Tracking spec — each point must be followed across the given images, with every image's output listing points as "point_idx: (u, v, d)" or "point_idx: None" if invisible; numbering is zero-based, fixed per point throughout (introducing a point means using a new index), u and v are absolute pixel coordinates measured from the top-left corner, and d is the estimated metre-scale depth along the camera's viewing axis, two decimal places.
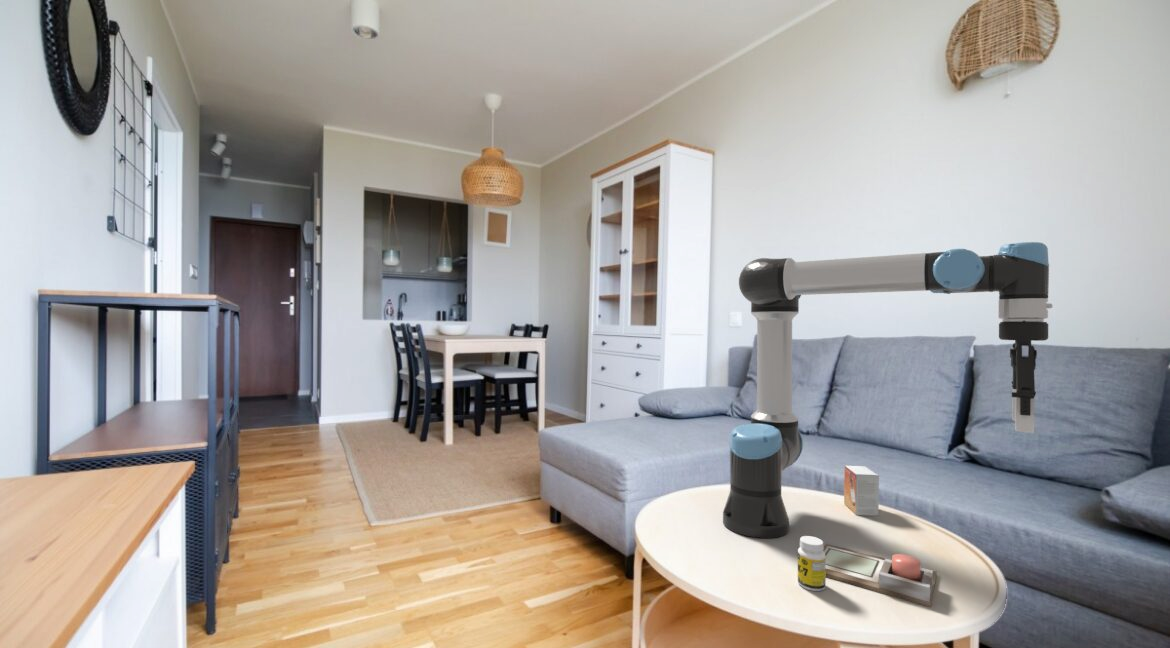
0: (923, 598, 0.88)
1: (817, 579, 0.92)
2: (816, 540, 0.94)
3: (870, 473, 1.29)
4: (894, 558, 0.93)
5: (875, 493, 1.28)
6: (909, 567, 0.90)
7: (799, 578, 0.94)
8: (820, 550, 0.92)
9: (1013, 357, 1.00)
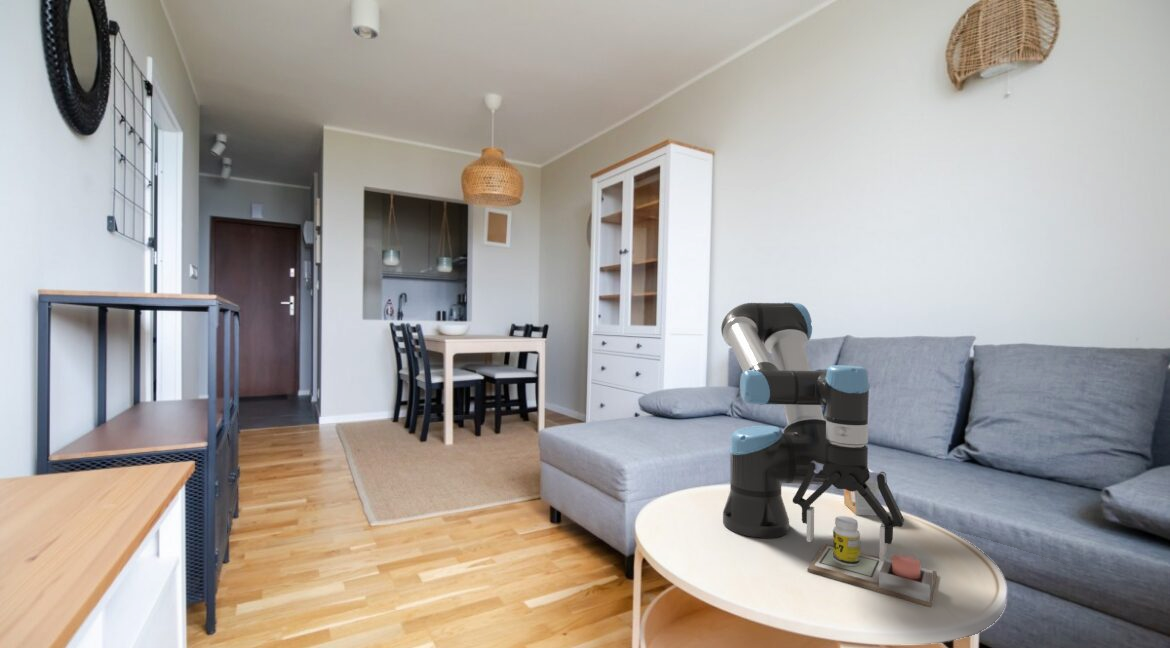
0: (923, 598, 0.88)
1: (852, 555, 0.99)
2: (850, 519, 1.02)
3: None
4: (894, 558, 0.93)
5: (875, 493, 1.28)
6: (909, 567, 0.90)
7: (835, 554, 1.01)
8: (855, 528, 1.00)
9: None
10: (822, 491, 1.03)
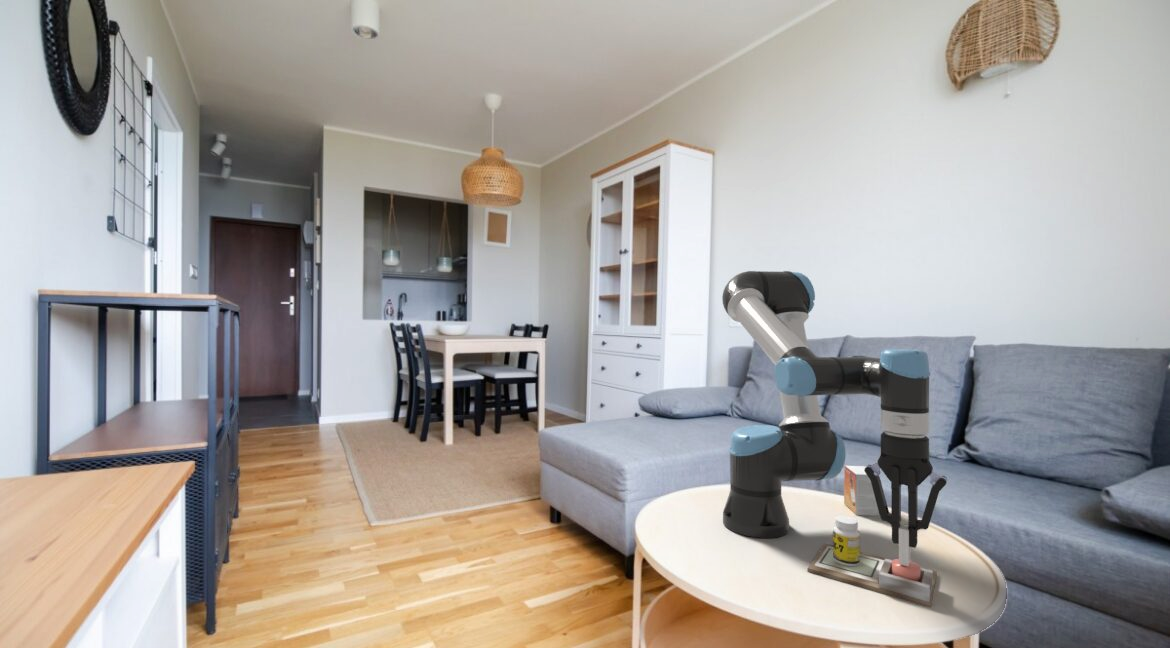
0: (923, 598, 0.88)
1: (852, 555, 0.99)
2: (850, 519, 1.02)
3: None
4: (894, 563, 0.93)
5: None
6: (909, 572, 0.90)
7: (835, 554, 1.01)
8: (855, 528, 1.00)
9: None
10: (897, 495, 0.92)
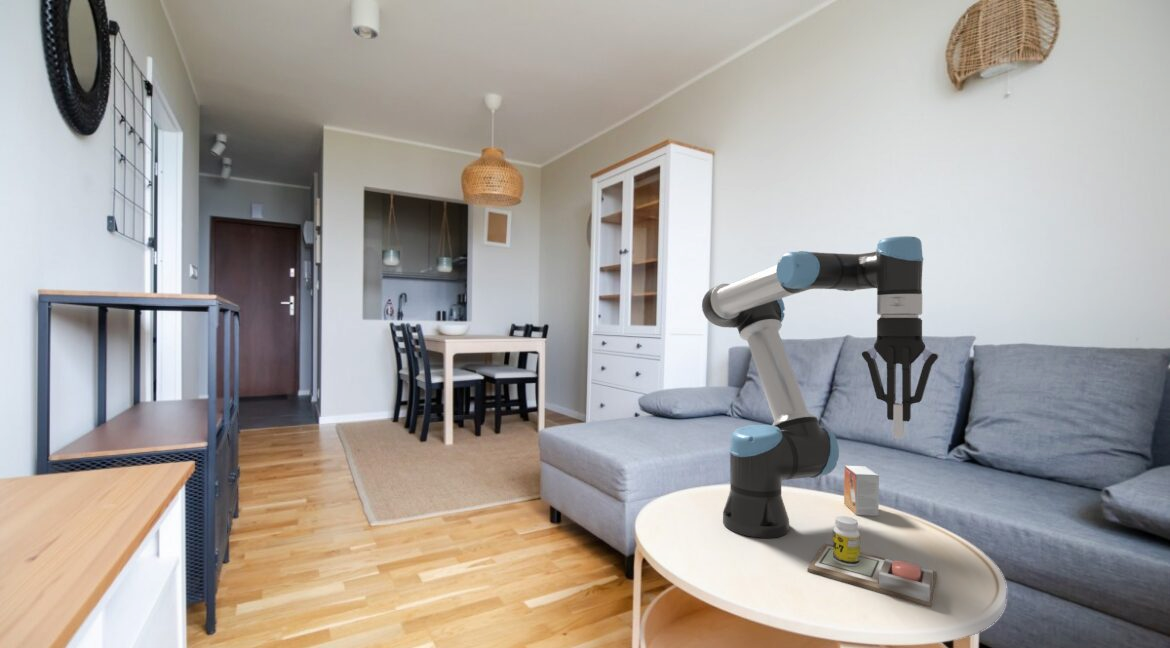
0: (923, 598, 0.88)
1: (852, 555, 0.99)
2: (850, 519, 1.02)
3: (870, 473, 1.29)
4: (894, 565, 0.93)
5: (875, 493, 1.28)
6: (909, 574, 0.90)
7: (835, 554, 1.01)
8: (855, 528, 1.00)
9: None
10: (892, 374, 0.99)
